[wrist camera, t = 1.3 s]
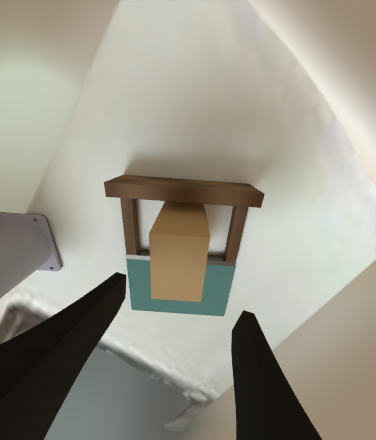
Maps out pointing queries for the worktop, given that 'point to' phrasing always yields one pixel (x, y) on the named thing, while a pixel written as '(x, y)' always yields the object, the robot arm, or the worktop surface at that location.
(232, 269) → the mat
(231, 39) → the worktop surface
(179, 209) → the block
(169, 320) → the worktop surface
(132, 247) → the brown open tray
